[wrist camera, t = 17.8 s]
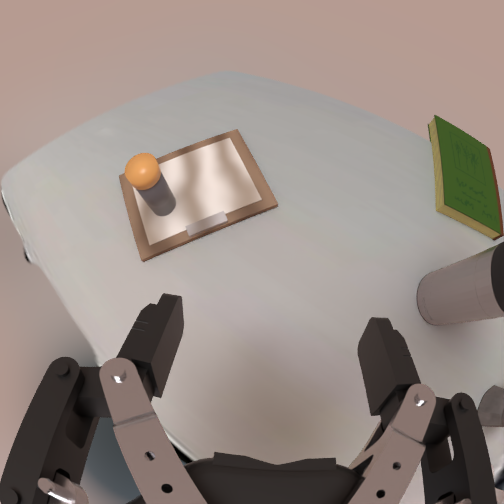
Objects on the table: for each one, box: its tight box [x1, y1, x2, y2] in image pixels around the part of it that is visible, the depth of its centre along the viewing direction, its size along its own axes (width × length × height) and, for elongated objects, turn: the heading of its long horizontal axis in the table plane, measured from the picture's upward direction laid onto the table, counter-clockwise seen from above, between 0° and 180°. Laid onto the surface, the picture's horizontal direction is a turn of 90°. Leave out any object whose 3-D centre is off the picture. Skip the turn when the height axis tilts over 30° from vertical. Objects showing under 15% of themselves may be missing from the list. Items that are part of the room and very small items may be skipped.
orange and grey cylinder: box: [125, 153, 176, 216], centre depth 36 cm, size 4×4×11 cm
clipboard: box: [119, 129, 278, 262], centre depth 43 cm, size 22×16×2 cm
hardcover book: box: [428, 115, 504, 240], centre depth 46 cm, size 25×19×4 cm
